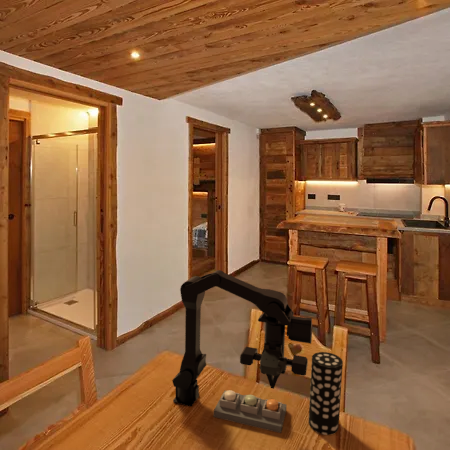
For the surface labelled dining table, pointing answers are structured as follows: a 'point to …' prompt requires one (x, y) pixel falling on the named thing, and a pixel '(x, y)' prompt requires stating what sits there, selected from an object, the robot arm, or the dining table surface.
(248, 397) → the sage button
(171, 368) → the dining table surface
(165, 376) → the dining table surface
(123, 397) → the dining table surface
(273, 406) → the orange button
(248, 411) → the rack
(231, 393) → the cream button
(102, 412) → the dining table surface
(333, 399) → the spotted tube
